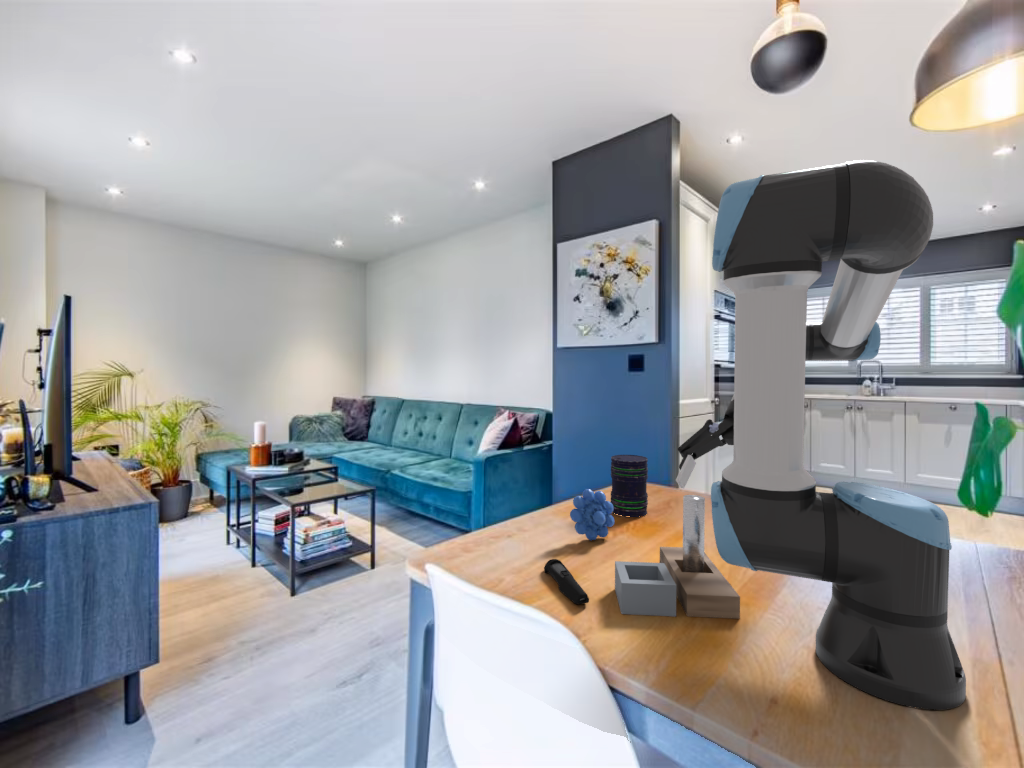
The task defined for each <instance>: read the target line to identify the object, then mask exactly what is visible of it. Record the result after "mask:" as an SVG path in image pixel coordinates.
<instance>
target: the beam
mask: <svg viewBox="0 0 1024 768" xmlns="http://www.w3.org/2000/svg"><path fill="white" fill-rule="evenodd" d="M659 563H664V564H665V566H666V567H667V569H668V571H669V573H670V575H671V576H672V578H673V580H674V582H675V584H676V599H677V600H678V601H679V604H680V605H681V607H682V609H683V611H684V613H685V615H686V616H687V617H697V618H716V619H719V618H720V619H721V618H722V619H735V620H736V619H738V620H739V619H740V618H741V596H740V594H739V593H737V591H736V590H735V589H734V587H733V586H732V585H731V583H730V582H729V581H728V580H727V579H726V577H725V576H724V575H723V573H722V572H721V571H720V569H718V567H717V566H716V565H715V564H714V562H713V561H712V559H710V557H709V556H708V555H707V554H706V552H705V551H704V573H694V572H683V546H681V547H680V546H659Z"/></svg>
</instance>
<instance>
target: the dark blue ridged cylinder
mask: <svg viewBox="0 0 1024 768" xmlns="http://www.w3.org/2000/svg"><path fill="white" fill-rule="evenodd" d="M610 459H611V462H610V463H611V464H610V477H611V491H610V502H611V503H612V504H613V507H614V510H613V513H615V514H618V515H622V516H630V517H639V516H644V515H646V514H647V515H648V511H647V510H648V504H649V503H648V502H649V500H648V497H649V494H648V492H647V489H648V487H647V480H648V477H649V474H648V473H649V468H648V457H646V456H643V455H635V454H616V455H612V456H611V457H610ZM613 513H612V514H613ZM647 515H646V516H647ZM644 517H645V516H644ZM639 518H640V517H639Z"/></svg>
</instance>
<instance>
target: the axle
mask: <svg viewBox="0 0 1024 768" xmlns="http://www.w3.org/2000/svg"><path fill="white" fill-rule="evenodd" d="M682 501H683V502H682V504H683V505H682V508H683V509H682V513H683V514H682V547H683V572H694V573H704V552H705V521H706V520H705V518H706V516H705V515H706V509H705V507H706V501H705V497H704V496H702V495H697V494H685V495H683V500H682Z"/></svg>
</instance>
